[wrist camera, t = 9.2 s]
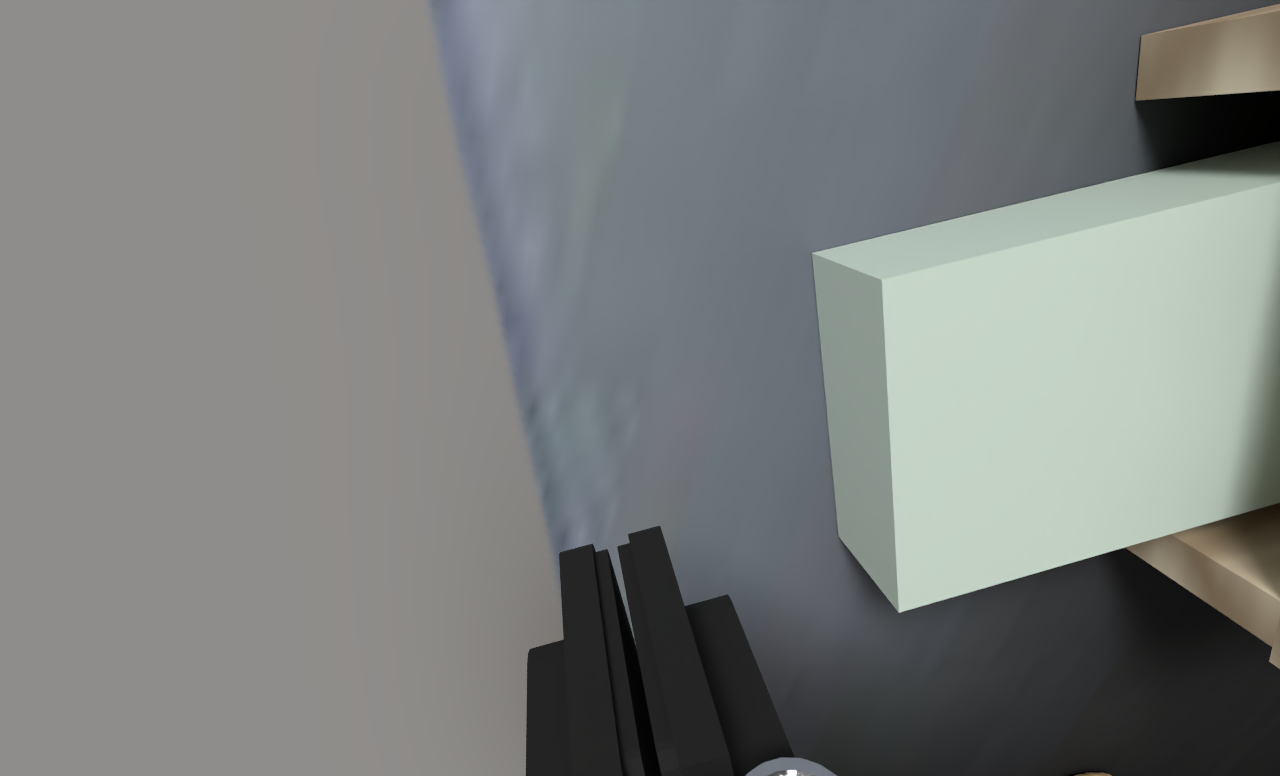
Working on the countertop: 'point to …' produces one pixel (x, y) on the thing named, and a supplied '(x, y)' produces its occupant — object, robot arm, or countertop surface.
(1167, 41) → the birch shelf
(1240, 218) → the mint green block
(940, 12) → the countertop surface
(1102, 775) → the sprinkles bottle
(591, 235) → the countertop surface
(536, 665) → the robot arm
